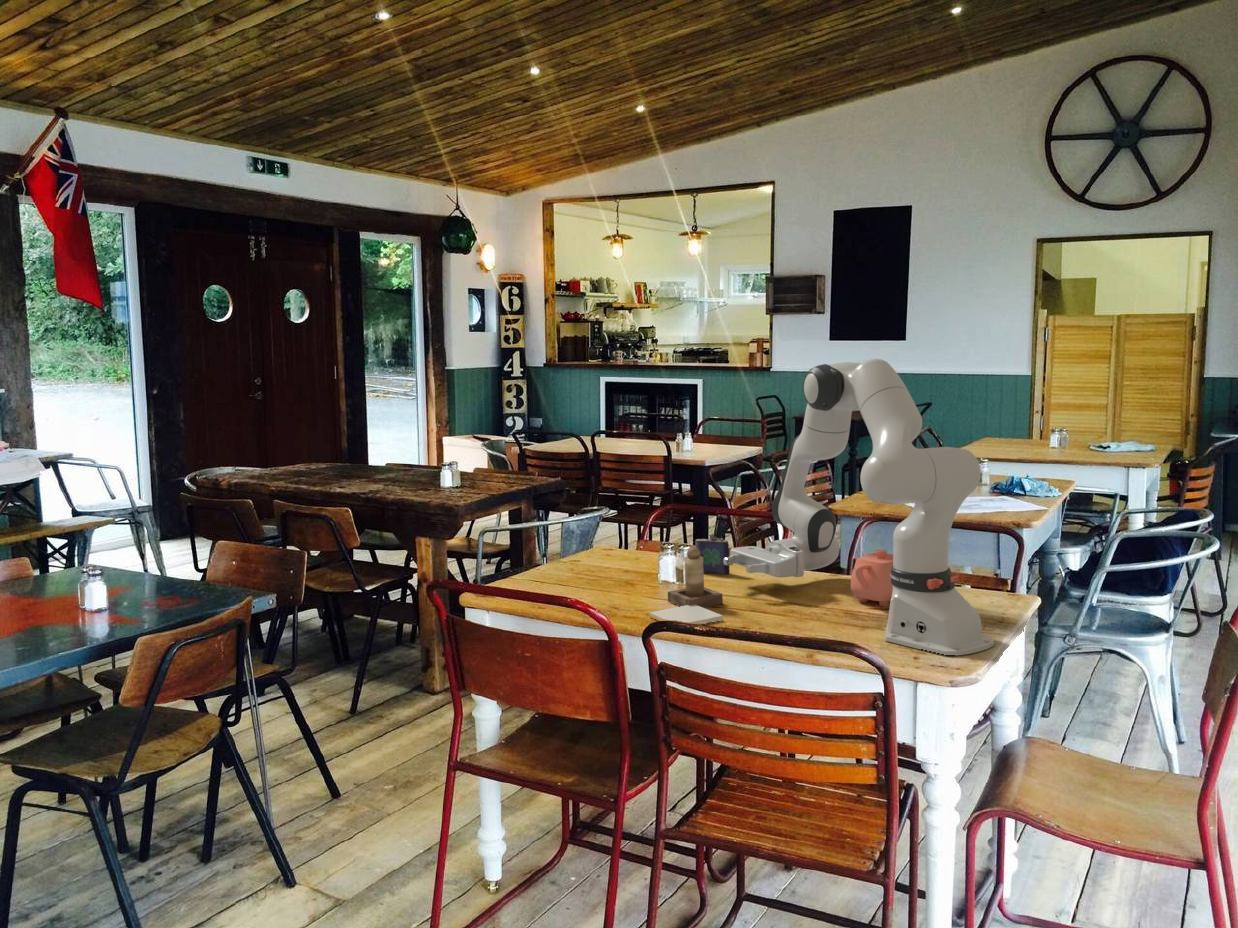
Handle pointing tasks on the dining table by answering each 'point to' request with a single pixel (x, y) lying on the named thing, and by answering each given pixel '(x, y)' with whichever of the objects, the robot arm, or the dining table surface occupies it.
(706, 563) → the flask
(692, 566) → the mill
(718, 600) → the holder
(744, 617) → the dining table surface
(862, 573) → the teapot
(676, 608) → the board
